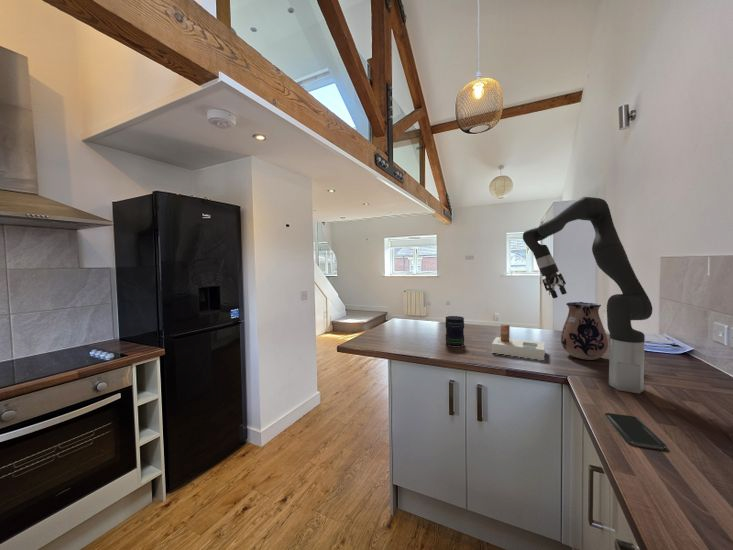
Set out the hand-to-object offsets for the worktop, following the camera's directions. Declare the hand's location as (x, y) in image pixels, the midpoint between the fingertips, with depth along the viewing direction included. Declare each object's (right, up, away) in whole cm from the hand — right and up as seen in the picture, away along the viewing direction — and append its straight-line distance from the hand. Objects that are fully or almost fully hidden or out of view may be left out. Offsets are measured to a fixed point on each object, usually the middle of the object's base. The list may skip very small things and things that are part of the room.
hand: (560, 296), depth 146 cm
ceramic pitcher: (+6, -28, -7) cm, 29 cm away
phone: (-25, -32, -67) cm, 78 cm away
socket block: (-21, -28, -1) cm, 35 cm away
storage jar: (-47, -28, +16) cm, 57 cm away
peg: (-26, -23, +2) cm, 35 cm away
